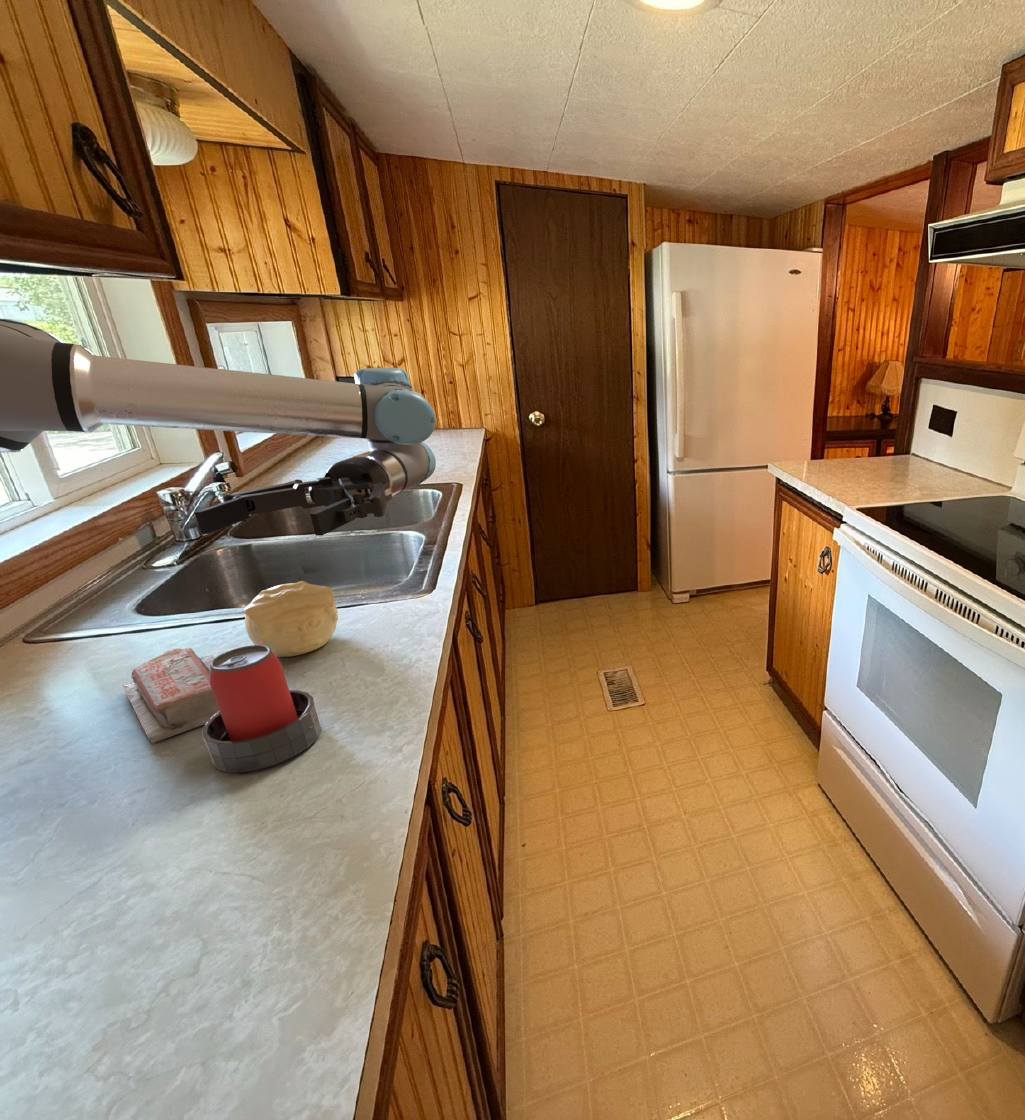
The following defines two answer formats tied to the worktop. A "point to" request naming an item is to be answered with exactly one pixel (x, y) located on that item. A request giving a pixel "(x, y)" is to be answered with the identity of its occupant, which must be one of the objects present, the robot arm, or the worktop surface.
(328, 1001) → the worktop surface
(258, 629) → the sculpture
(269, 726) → the beer can
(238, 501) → the robot arm
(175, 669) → the packaged product
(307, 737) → the bowl
